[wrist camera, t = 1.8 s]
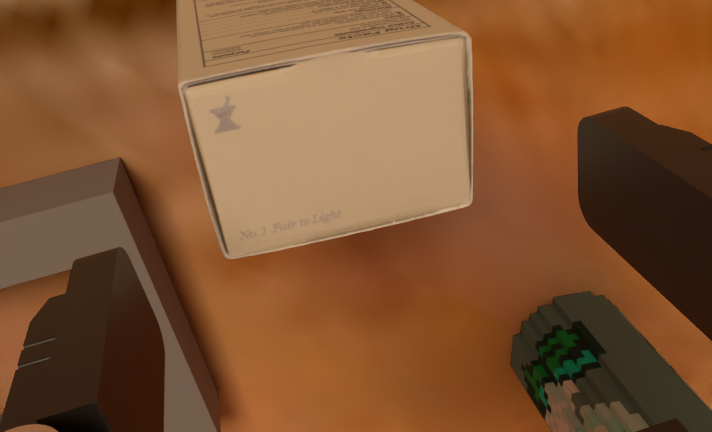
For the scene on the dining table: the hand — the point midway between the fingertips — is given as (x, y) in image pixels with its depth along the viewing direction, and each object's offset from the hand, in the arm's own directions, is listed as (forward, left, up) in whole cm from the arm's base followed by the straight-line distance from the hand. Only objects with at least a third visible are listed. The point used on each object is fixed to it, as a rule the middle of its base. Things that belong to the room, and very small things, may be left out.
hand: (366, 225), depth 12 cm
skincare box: (0, 0, -16) cm, 16 cm away
